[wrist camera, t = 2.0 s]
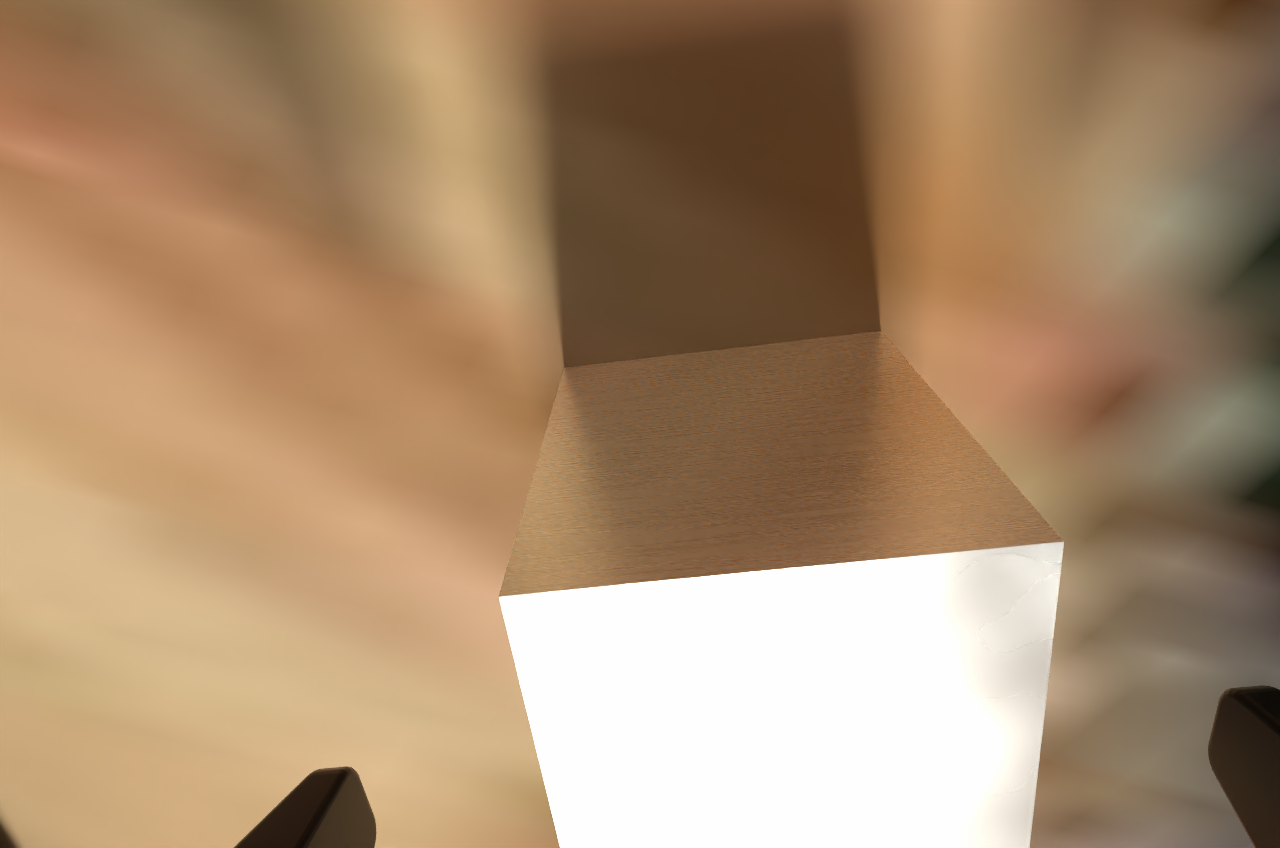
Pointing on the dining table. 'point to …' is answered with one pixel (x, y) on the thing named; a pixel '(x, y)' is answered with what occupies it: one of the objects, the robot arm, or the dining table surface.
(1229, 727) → the robot arm
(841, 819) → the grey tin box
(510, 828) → the dining table surface
